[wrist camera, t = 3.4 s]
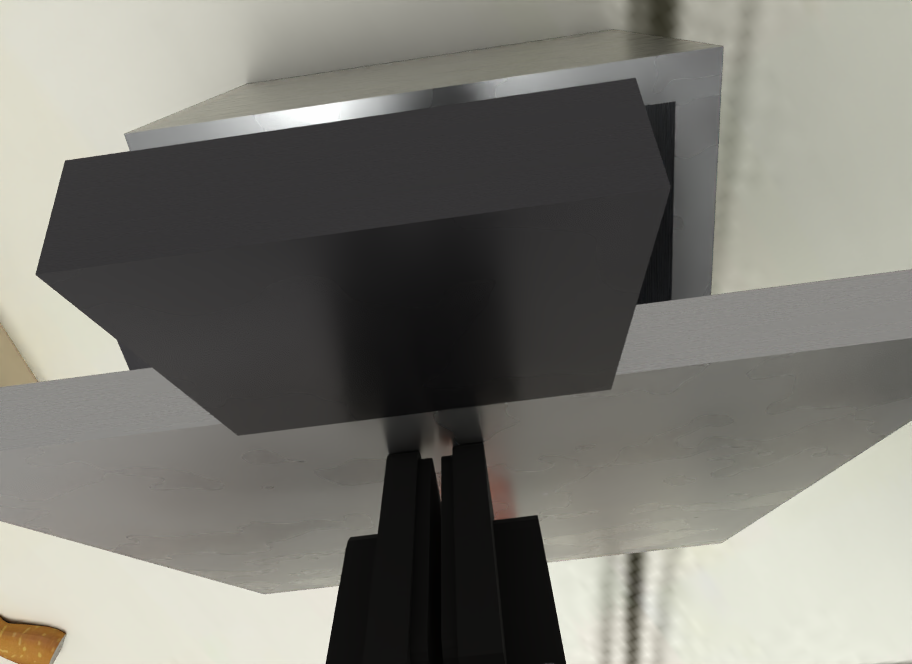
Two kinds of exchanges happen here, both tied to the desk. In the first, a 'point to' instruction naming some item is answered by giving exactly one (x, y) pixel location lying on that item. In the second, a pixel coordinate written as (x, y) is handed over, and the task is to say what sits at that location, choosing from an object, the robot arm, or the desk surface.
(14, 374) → the book
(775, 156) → the desk surface
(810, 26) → the desk surface
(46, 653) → the orange and grey rod
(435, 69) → the grey open box
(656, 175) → the cooker lid
